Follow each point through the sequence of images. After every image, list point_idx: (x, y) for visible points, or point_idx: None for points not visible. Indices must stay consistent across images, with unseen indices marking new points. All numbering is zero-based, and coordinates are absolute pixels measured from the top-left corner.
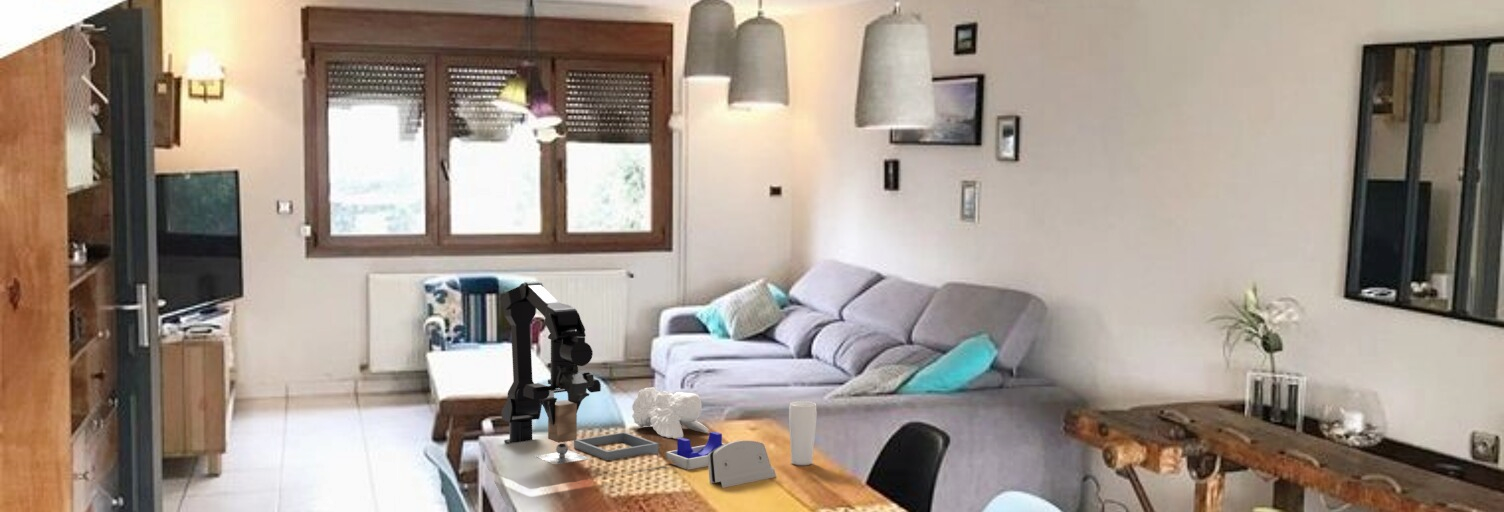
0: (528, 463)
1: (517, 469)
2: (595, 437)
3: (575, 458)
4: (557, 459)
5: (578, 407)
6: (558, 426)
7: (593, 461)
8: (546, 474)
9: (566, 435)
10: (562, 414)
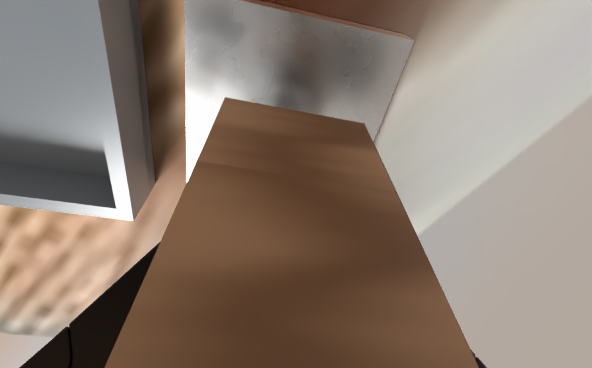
0: None
1: (458, 160)
2: (13, 195)
3: (251, 56)
4: (328, 107)
5: (54, 343)
6: (393, 195)
7: (144, 28)
8: (483, 9)
9: (308, 132)
10: (387, 281)
